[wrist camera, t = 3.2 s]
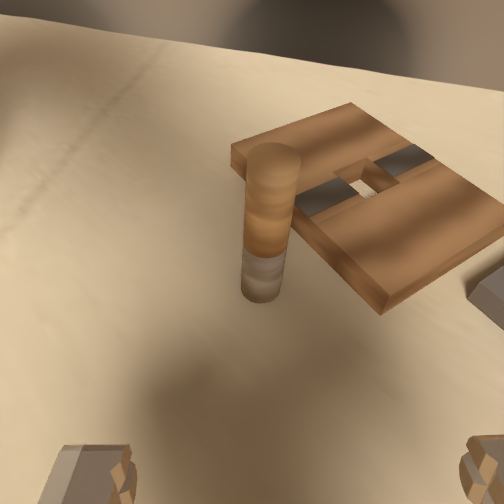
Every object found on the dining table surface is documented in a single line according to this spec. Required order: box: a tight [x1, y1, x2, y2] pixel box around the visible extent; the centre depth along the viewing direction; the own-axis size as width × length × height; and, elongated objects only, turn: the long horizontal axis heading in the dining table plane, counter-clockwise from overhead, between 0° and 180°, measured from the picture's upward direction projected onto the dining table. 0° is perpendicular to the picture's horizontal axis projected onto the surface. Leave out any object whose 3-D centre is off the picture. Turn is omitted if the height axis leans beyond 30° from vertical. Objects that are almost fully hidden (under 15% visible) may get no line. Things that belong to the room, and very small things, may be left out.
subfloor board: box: [231, 102, 504, 315], centre depth 46 cm, size 24×18×3 cm
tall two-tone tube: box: [241, 142, 301, 303], centre depth 33 cm, size 4×4×14 cm
